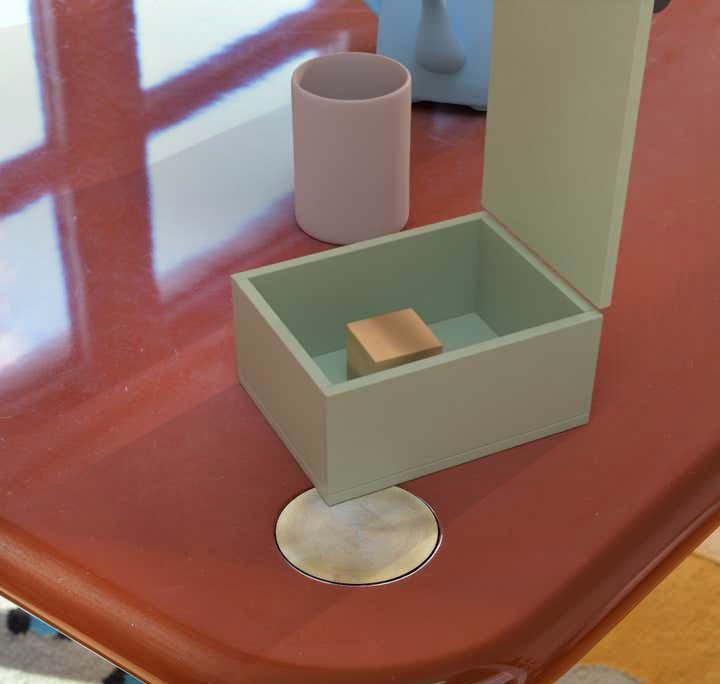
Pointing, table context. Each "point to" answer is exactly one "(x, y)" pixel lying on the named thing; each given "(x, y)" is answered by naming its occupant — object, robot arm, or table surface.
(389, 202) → the mug
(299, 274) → the green hinged box
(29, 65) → the table surface
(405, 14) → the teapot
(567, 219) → the green box lid
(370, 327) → the block
